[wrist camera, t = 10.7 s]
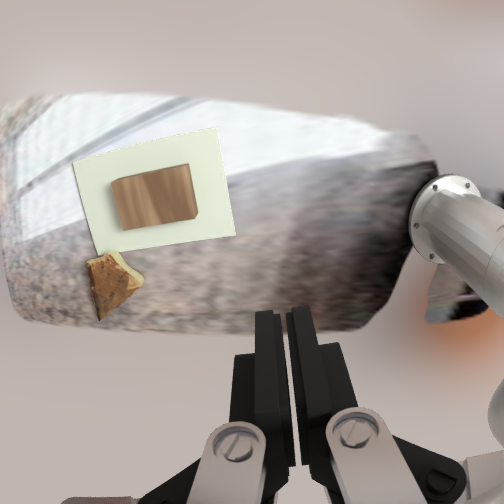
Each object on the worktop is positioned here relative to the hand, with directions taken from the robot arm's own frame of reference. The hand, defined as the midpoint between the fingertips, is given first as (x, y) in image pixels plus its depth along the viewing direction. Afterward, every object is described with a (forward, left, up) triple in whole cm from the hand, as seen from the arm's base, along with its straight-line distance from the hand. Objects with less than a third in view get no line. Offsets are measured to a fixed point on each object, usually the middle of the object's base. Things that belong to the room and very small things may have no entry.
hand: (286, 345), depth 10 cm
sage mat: (+14, 0, -29) cm, 32 cm away
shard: (+22, +11, -29) cm, 38 cm away
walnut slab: (+8, 0, -27) cm, 28 cm away
